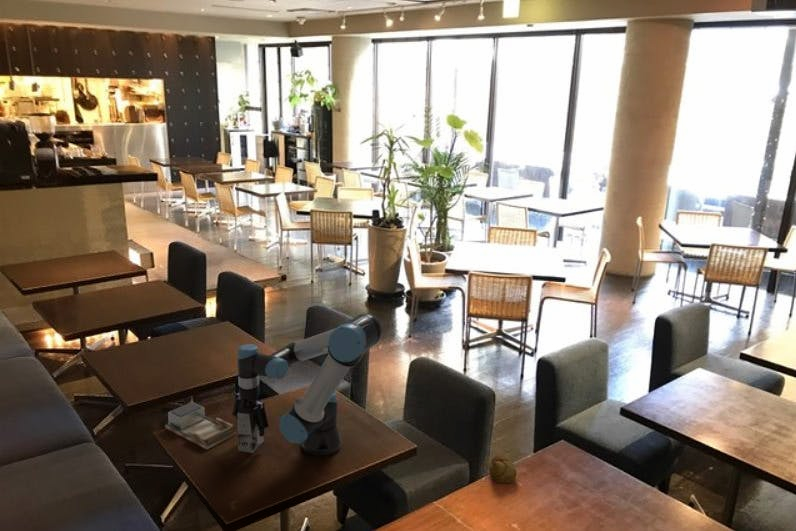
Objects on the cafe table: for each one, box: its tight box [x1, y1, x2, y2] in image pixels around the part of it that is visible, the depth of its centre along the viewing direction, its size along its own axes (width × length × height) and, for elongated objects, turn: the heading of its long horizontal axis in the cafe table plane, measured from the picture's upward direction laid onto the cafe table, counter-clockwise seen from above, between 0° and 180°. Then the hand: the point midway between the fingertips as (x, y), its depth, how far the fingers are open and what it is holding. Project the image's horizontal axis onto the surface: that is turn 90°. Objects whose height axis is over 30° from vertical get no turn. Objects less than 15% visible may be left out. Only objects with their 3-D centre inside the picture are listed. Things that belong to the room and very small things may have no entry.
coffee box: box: [237, 407, 261, 454], centre depth 233 cm, size 9×6×16 cm
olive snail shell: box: [488, 454, 517, 484], centre depth 220 cm, size 13×10×8 cm
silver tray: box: [164, 415, 237, 450], centre depth 244 cm, size 26×14×4 cm, turn 55°
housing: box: [167, 401, 206, 430], centre depth 248 cm, size 8×12×5 cm
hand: (250, 438), depth 234 cm, fingers open, 10 cm apart
